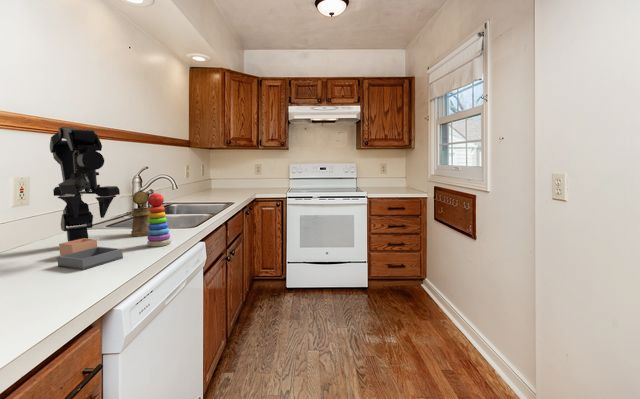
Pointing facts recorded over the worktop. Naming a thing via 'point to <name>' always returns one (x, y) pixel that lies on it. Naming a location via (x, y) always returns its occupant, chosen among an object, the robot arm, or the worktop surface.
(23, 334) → the worktop surface
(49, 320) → the worktop surface
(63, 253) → the salmon orange block
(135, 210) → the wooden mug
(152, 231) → the stacking toy
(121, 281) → the worktop surface
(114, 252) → the tray
